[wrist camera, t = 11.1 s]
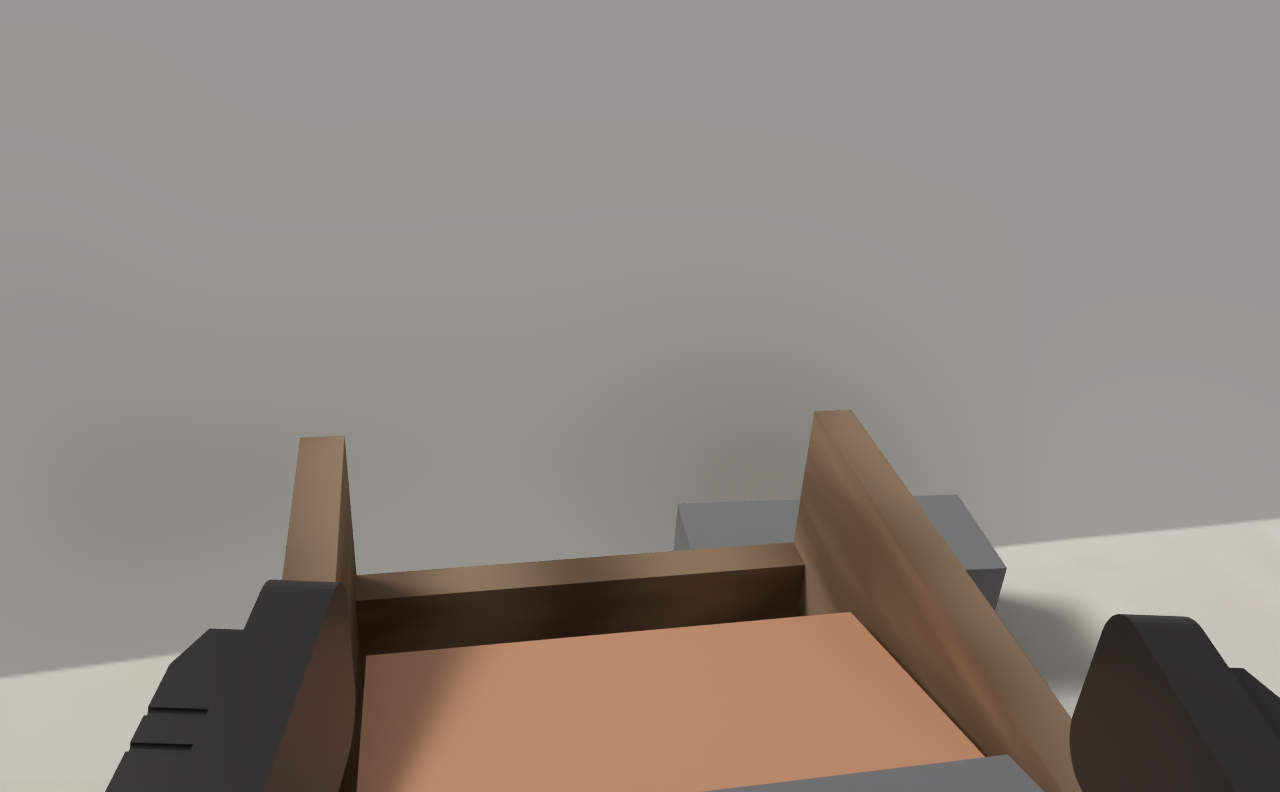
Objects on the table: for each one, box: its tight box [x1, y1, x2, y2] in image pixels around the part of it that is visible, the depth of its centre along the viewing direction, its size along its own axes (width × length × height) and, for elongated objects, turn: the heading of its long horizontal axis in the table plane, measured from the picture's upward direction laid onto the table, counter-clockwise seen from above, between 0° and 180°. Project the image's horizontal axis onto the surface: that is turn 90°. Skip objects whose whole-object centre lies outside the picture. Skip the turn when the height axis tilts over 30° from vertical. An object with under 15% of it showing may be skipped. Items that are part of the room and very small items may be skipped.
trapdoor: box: [357, 612, 1044, 792], centre depth 23 cm, size 13×12×3 cm
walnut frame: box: [282, 410, 1082, 792], centre depth 28 cm, size 16×17×11 cm
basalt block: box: [673, 495, 1007, 611], centre depth 41 cm, size 4×4×11 cm
